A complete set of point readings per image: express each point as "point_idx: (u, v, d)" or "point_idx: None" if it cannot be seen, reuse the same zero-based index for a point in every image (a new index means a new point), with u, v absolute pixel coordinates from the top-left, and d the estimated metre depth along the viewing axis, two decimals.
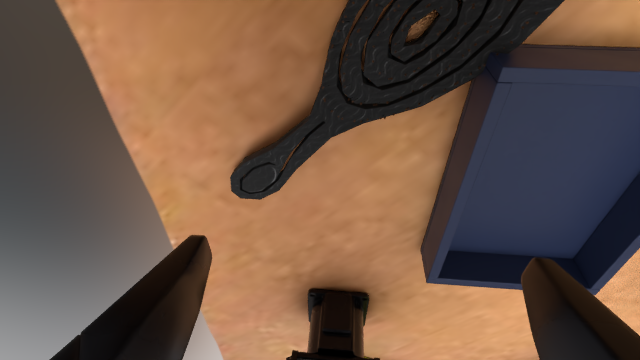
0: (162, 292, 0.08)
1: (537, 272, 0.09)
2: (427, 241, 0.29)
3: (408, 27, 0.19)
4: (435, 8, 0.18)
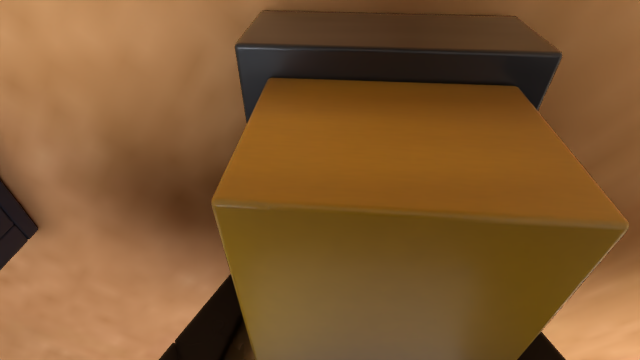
0: None
1: None
2: None
3: None
4: None
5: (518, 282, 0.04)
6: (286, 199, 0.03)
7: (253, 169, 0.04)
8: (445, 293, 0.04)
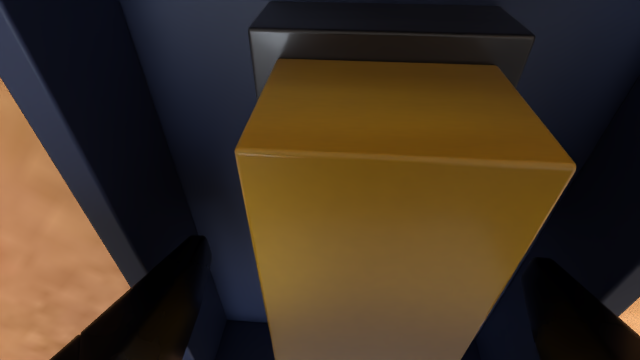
0: (162, 292, 0.08)
1: (537, 272, 0.09)
2: None
3: None
4: None
5: (490, 222, 0.05)
6: (296, 148, 0.04)
7: (268, 127, 0.05)
8: (430, 235, 0.05)
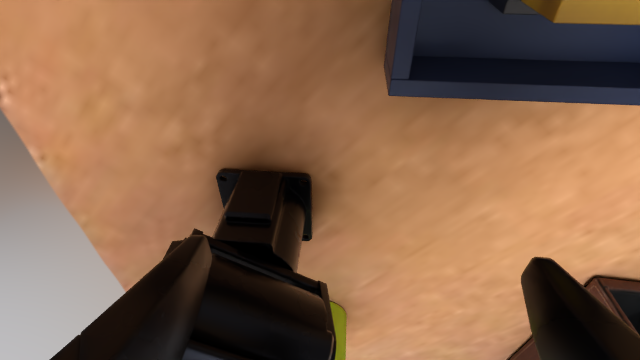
0: (162, 292, 0.08)
1: (537, 272, 0.09)
2: (391, 24, 0.16)
3: None
4: None
5: None
6: None
7: None
8: None
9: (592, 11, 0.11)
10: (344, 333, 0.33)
